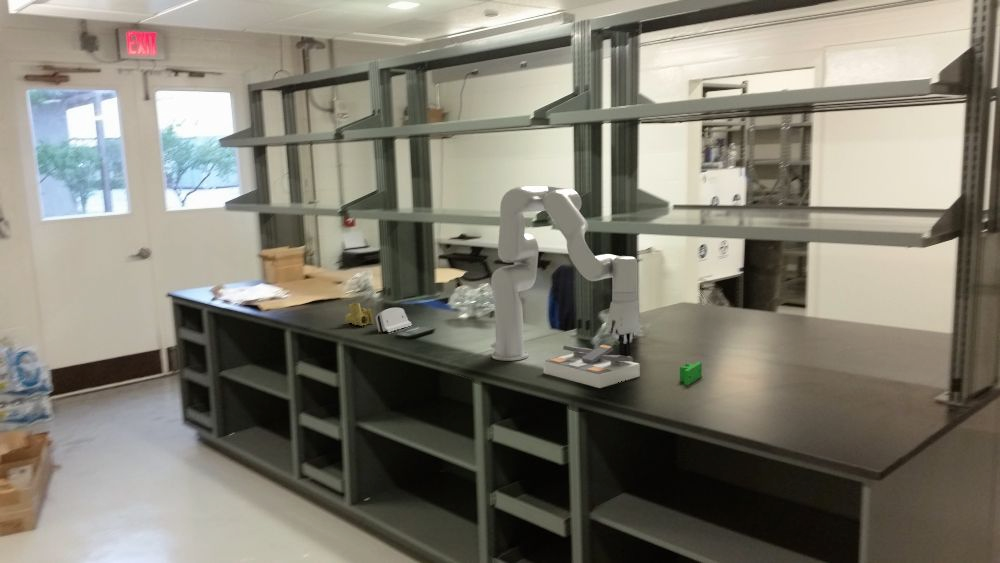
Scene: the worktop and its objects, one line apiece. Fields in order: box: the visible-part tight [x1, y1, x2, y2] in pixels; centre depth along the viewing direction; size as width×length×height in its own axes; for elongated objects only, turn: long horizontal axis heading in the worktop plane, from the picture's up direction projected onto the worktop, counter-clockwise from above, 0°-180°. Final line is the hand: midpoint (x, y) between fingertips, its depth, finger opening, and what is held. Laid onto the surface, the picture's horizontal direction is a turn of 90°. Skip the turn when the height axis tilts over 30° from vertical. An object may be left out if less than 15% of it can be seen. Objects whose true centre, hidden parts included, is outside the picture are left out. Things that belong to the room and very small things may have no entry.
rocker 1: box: [562, 345, 594, 353], centre depth 245 cm, size 4×10×1 cm, turn 130°
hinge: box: [375, 307, 413, 333], centre depth 317 cm, size 17×5×10 cm, turn 150°
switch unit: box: [543, 352, 641, 389], centre depth 238 cm, size 24×18×5 cm
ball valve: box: [344, 302, 374, 326], centre depth 328 cm, size 13×10×10 cm
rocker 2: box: [581, 344, 614, 364], centre depth 239 cm, size 4×10×1 cm, turn 130°
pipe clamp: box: [679, 361, 703, 386], centre depth 229 cm, size 11×4×5 cm, turn 145°
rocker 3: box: [600, 354, 634, 362], centre depth 233 cm, size 4×10×1 cm, turn 130°
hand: (624, 355), depth 236 cm, fingers closed
